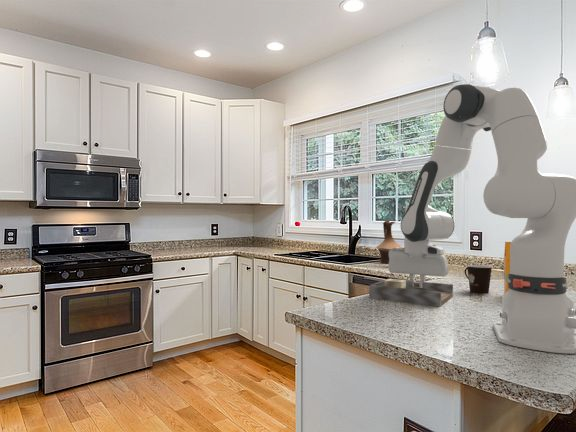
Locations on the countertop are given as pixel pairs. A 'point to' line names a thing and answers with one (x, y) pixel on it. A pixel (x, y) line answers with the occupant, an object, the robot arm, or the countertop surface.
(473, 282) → the coffee mug
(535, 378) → the countertop surface
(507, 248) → the orange juice
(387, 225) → the brown vase
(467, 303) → the countertop surface
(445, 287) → the grey tray
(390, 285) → the birch block
